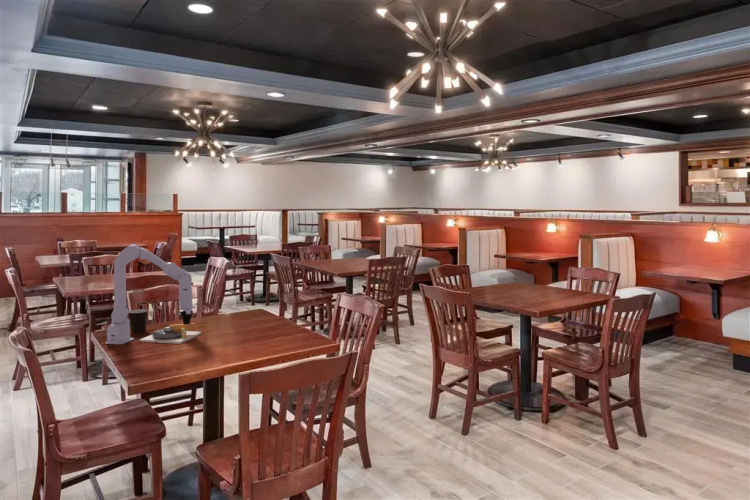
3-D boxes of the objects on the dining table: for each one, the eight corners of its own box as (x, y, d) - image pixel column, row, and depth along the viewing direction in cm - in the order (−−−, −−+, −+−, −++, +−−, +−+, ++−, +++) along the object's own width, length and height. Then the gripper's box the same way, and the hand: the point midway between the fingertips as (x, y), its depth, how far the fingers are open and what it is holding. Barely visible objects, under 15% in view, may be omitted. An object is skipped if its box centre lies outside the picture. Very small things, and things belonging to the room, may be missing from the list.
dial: (152, 340, 235) (151, 330, 234) (152, 332, 248) (152, 323, 247) (195, 336, 241) (194, 326, 241) (193, 329, 254) (193, 320, 254)
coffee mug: (143, 333, 252) (142, 313, 251) (125, 333, 252) (124, 313, 251) (154, 327, 264) (153, 308, 263) (136, 327, 264) (136, 308, 263)
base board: (180, 343, 234) (179, 331, 234) (139, 341, 238) (139, 329, 237) (201, 333, 252) (200, 322, 251) (163, 331, 256) (162, 320, 255)
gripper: (197, 299, 242) (198, 328, 243) (192, 294, 255) (193, 322, 256) (181, 301, 238) (182, 330, 240) (176, 295, 251) (177, 324, 253)
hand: (186, 326), depth 248 cm, fingers closed, pressing on dial
